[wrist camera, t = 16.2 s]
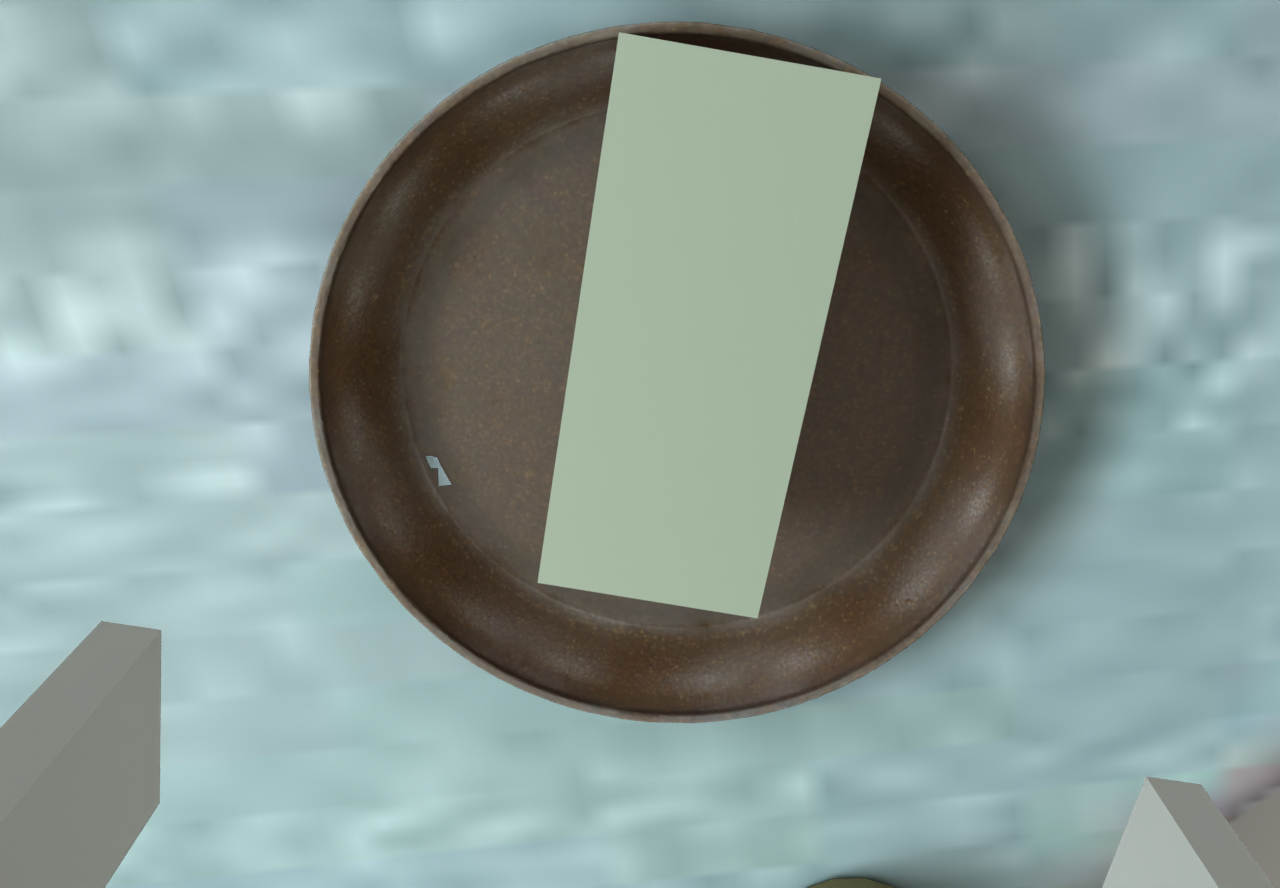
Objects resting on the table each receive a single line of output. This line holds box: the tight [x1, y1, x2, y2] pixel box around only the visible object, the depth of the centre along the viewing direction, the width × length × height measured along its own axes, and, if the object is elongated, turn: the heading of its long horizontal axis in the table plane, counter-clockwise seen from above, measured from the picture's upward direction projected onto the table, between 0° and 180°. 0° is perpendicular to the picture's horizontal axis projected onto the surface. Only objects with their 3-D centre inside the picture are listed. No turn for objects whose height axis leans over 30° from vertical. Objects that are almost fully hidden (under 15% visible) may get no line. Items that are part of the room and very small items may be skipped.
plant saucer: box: [309, 22, 1045, 723], centre depth 32 cm, size 21×21×3 cm
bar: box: [538, 32, 881, 618], centre depth 28 cm, size 6×14×3 cm, turn 171°
